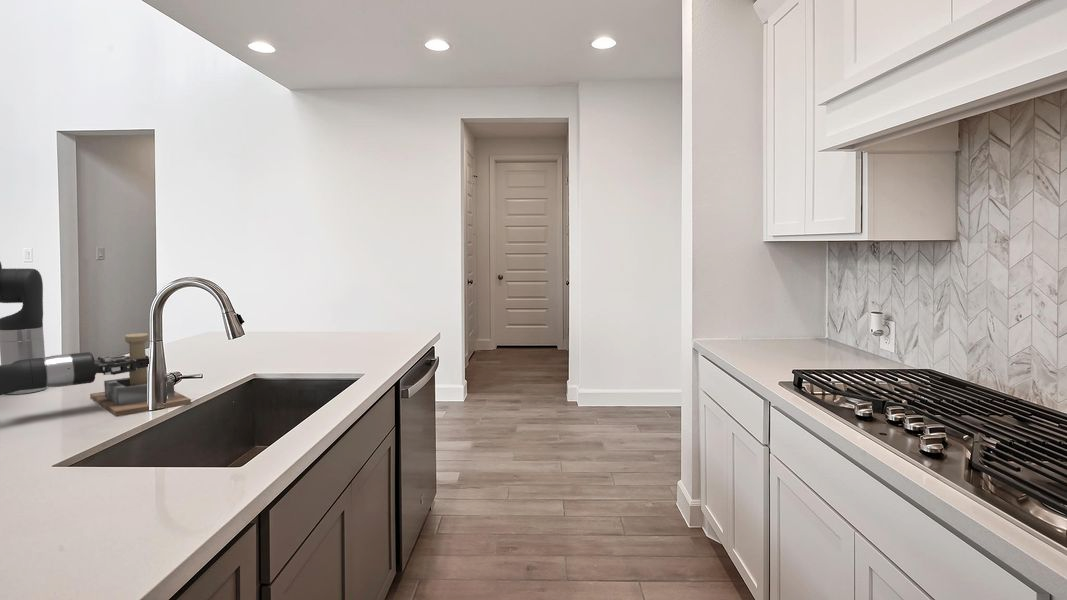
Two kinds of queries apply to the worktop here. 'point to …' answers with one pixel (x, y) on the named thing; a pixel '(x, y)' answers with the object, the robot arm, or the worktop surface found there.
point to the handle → (137, 357)
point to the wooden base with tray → (133, 397)
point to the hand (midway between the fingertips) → (150, 360)
